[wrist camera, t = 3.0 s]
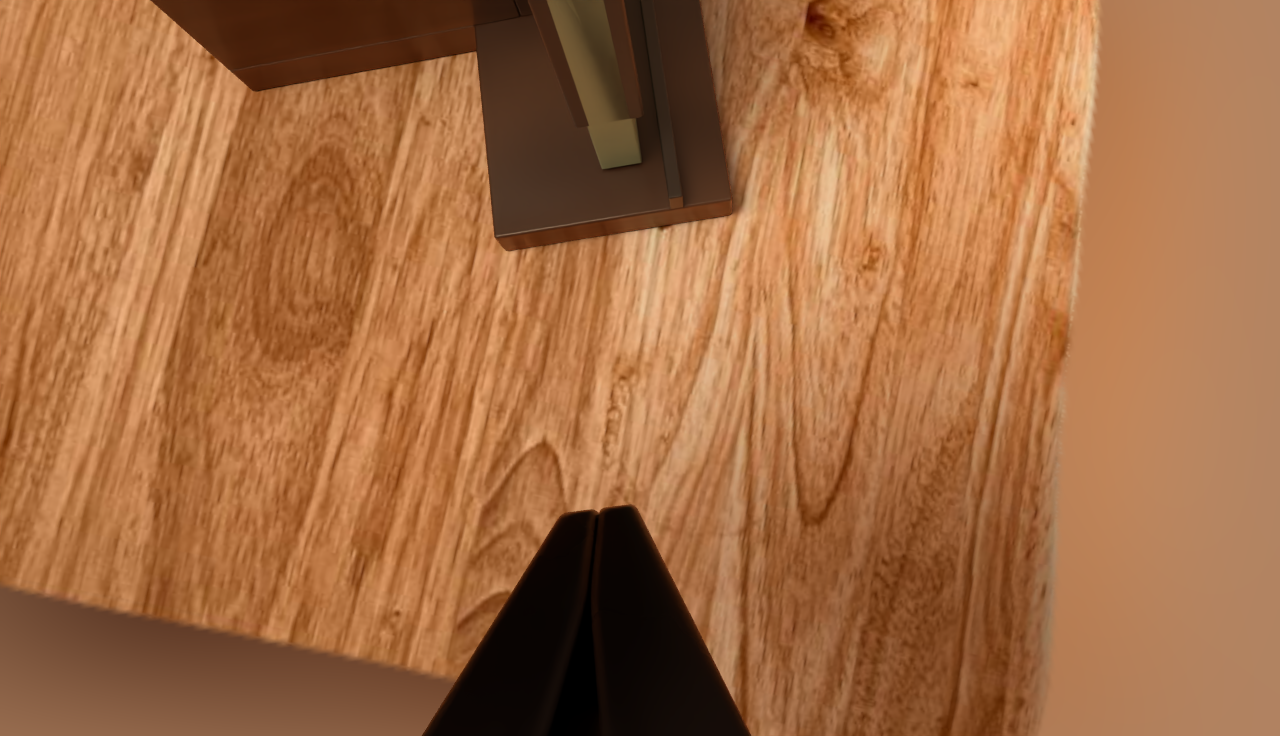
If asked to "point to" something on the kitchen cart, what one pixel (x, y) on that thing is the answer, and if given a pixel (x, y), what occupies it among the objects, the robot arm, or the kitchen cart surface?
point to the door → (595, 72)
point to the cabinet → (509, 100)
